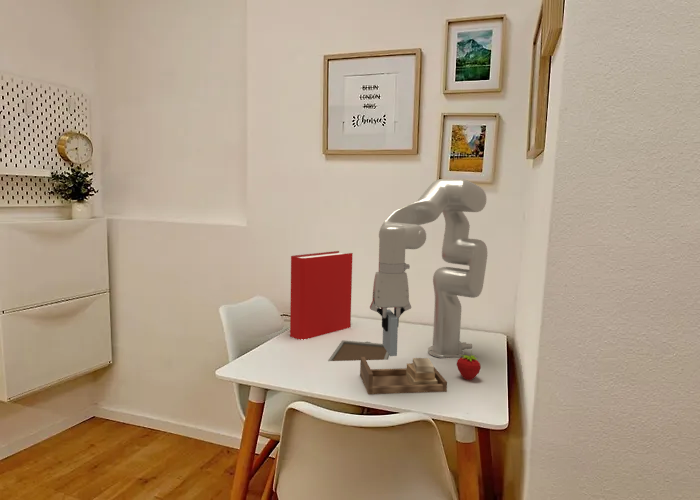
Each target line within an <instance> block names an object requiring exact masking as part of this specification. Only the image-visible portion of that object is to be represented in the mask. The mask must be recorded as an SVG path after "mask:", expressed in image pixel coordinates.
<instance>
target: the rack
mask: <svg viewBox="0 0 700 500" xmlns="http://www.w3.org/2000/svg"><path fill="white" fill-rule="evenodd" d="M359 366H360V367H359V368H360V370H359V376H360V378H361V381H362V383H363V386H364V388H365V390H366V393H367V395H386V394H387V395H388V394H390V395H391V394H414V393H415V394H416V393H419V394H420V393H441V392H442V393H443V392H446V393H447V391H448V381H447V379H446V378H444V377H443V375H442V374H441V373H440V372H439V371H438V369H437V368H436V367H435V366H434V372H435V378H436V380H437V381H438V383H437V384H423V385H411V384H410V382H409V381H408V379H407V378H406V369H407V367H405V368H404V367H403V368H401V367H400V368H374V369H373V368H372V369H371V367H370V365H369V362H368V360H366V359H365V357H361V360H360V365H359Z"/></svg>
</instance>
